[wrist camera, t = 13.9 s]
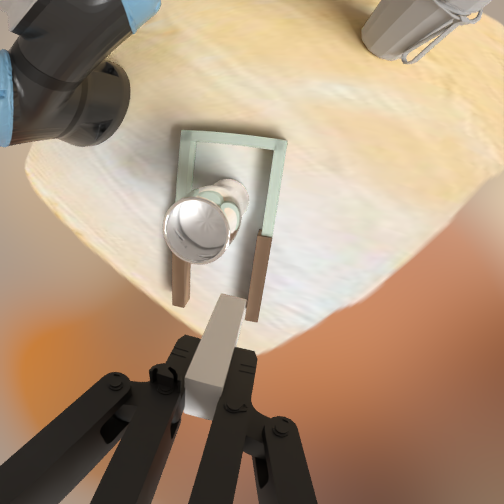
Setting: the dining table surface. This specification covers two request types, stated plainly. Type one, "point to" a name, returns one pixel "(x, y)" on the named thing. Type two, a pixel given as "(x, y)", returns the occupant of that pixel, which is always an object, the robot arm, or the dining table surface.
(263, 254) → the slot rails
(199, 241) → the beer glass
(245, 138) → the pale green u-shaped frame
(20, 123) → the robot arm
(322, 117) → the dining table surface
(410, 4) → the water bottle
